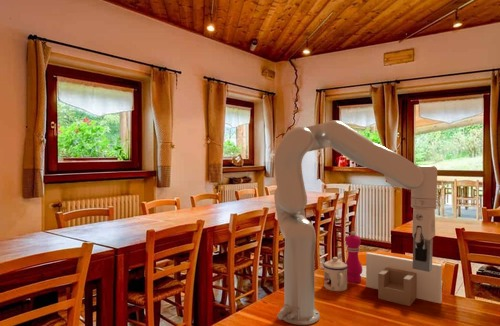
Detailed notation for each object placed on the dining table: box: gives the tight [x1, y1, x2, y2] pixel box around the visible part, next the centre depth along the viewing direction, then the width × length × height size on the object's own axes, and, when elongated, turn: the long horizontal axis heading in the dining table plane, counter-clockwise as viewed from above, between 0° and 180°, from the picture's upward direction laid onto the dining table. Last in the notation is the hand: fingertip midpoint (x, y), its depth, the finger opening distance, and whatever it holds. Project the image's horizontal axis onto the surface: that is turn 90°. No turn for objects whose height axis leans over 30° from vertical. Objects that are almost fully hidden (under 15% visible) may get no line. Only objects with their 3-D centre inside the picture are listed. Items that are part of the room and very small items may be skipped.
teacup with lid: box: [323, 256, 348, 292], centre depth 139 cm, size 12×9×12 cm
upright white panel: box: [365, 252, 443, 307], centre depth 130 cm, size 11×26×13 cm, turn 51°
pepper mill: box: [345, 231, 363, 284], centre depth 149 cm, size 7×7×20 cm
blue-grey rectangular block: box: [412, 237, 434, 272], centre depth 119 cm, size 4×5×10 cm
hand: (422, 258), depth 119 cm, fingers closed on blue-grey rectangular block, 3 cm apart
